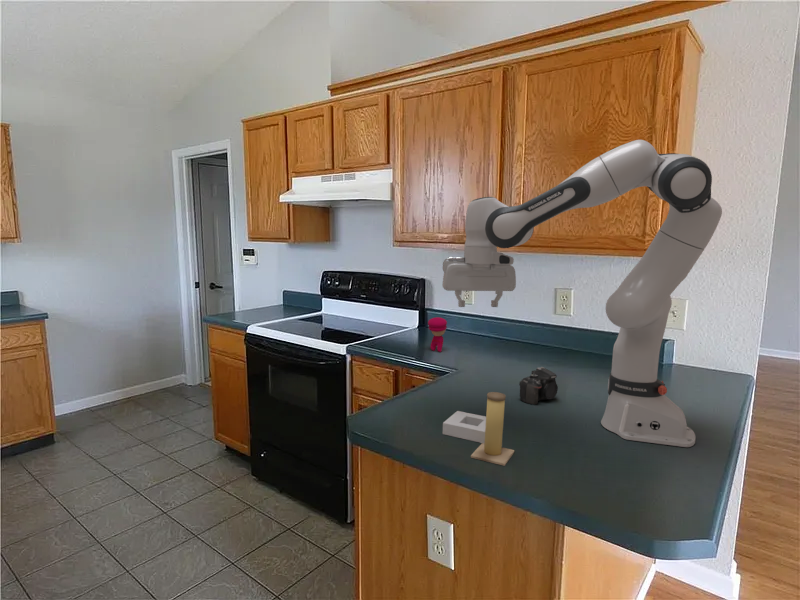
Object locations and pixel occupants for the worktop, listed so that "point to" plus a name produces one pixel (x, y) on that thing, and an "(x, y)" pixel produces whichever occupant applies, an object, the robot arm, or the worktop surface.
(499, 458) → the mat
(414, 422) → the worktop surface
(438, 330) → the toy
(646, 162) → the robot arm
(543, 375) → the camera
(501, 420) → the plug
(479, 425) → the socket block
